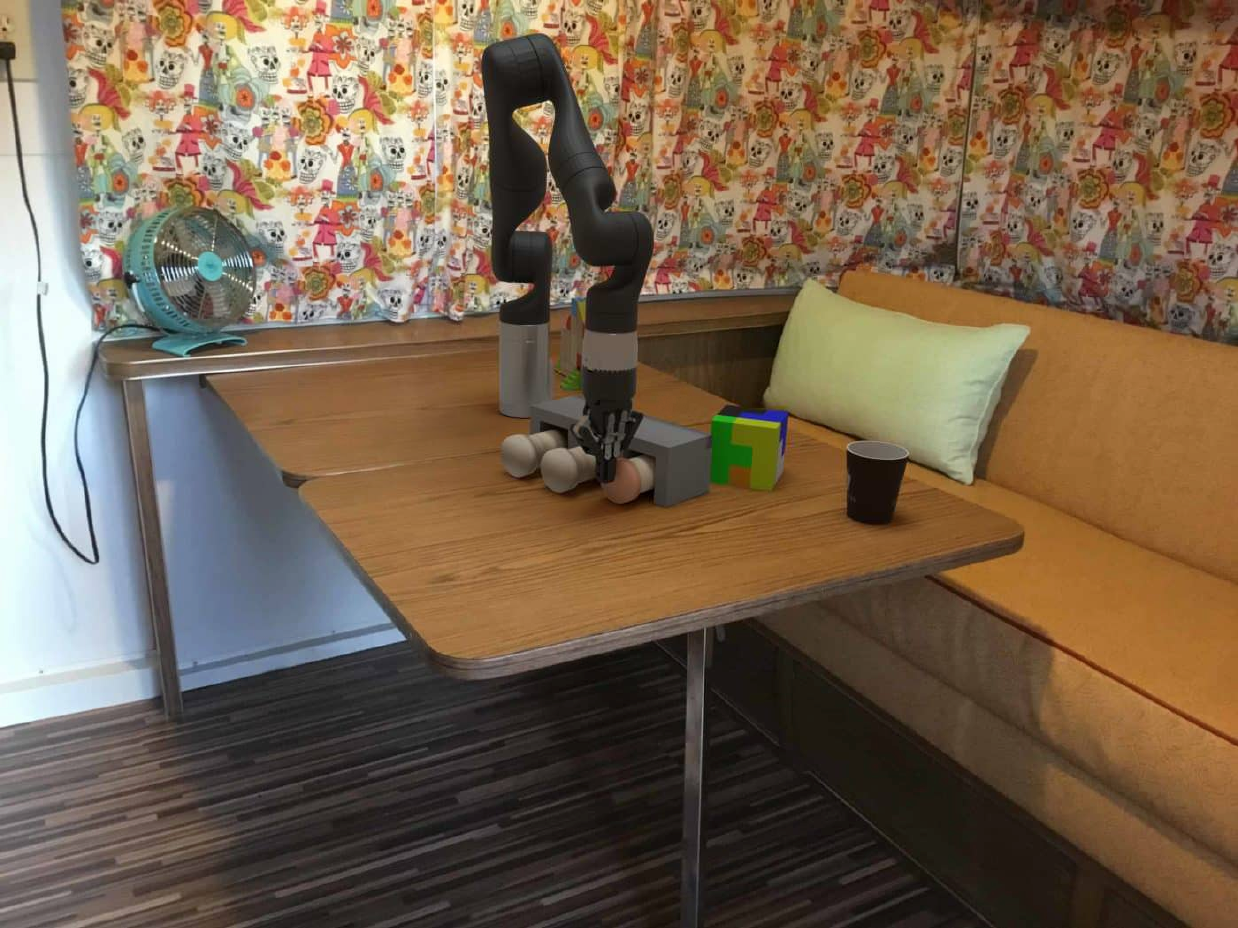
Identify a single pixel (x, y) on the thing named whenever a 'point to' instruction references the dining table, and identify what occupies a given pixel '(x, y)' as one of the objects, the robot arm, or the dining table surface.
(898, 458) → the coffee mug
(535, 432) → the socket block
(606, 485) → the terracotta plug
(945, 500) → the dining table surface
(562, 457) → the middle birch plug
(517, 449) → the near birch plug
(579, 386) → the toy castle
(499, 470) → the dining table surface
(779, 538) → the dining table surface
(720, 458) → the puzzle toy
